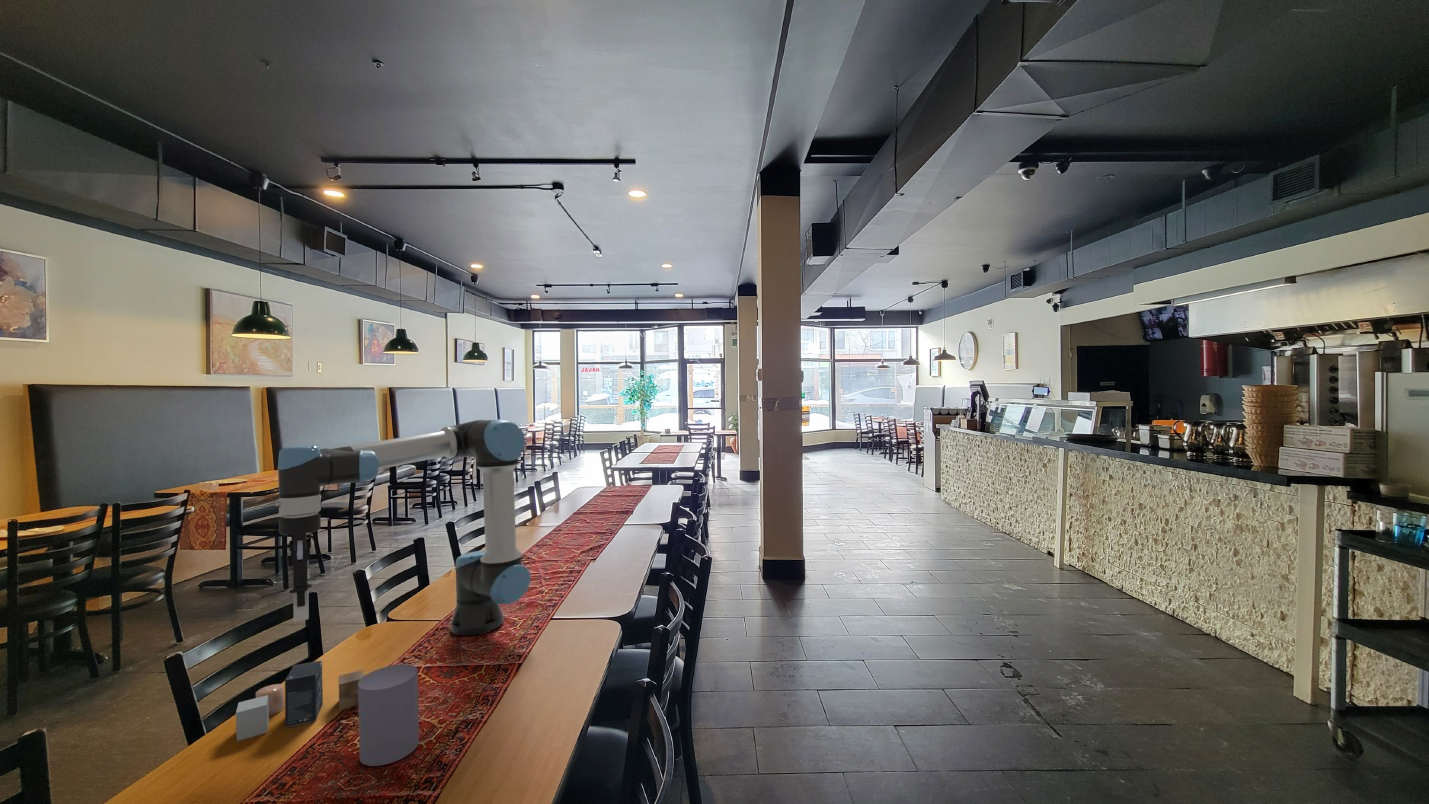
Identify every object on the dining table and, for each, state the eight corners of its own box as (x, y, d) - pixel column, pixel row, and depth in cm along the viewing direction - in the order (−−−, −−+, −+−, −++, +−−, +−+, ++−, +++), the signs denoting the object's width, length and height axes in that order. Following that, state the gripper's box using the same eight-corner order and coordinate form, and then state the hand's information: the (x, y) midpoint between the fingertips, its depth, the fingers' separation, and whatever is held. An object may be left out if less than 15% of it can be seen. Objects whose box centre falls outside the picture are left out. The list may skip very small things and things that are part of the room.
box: (316, 721, 122) (315, 673, 122) (284, 728, 119) (283, 680, 119) (323, 704, 129) (322, 659, 129) (293, 710, 127) (292, 664, 126)
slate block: (268, 721, 122) (268, 694, 122) (267, 732, 118) (266, 704, 118) (239, 730, 119) (238, 702, 119) (236, 741, 115) (235, 712, 115)
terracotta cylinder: (288, 704, 129) (288, 682, 129) (276, 716, 124) (275, 693, 124) (264, 706, 128) (264, 685, 128) (251, 718, 124) (250, 696, 124)
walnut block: (364, 694, 133) (363, 669, 133) (365, 703, 129) (364, 677, 129) (339, 701, 130) (338, 675, 130) (339, 710, 126) (339, 684, 126)
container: (404, 765, 106) (402, 688, 106) (348, 769, 106) (346, 691, 105) (427, 733, 117) (426, 662, 117) (376, 736, 116) (375, 665, 116)
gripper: (280, 512, 127) (281, 614, 127) (277, 521, 117) (278, 633, 116) (320, 508, 131) (321, 607, 131) (320, 516, 121) (321, 624, 121)
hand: (301, 619), depth 124 cm, fingers closed
